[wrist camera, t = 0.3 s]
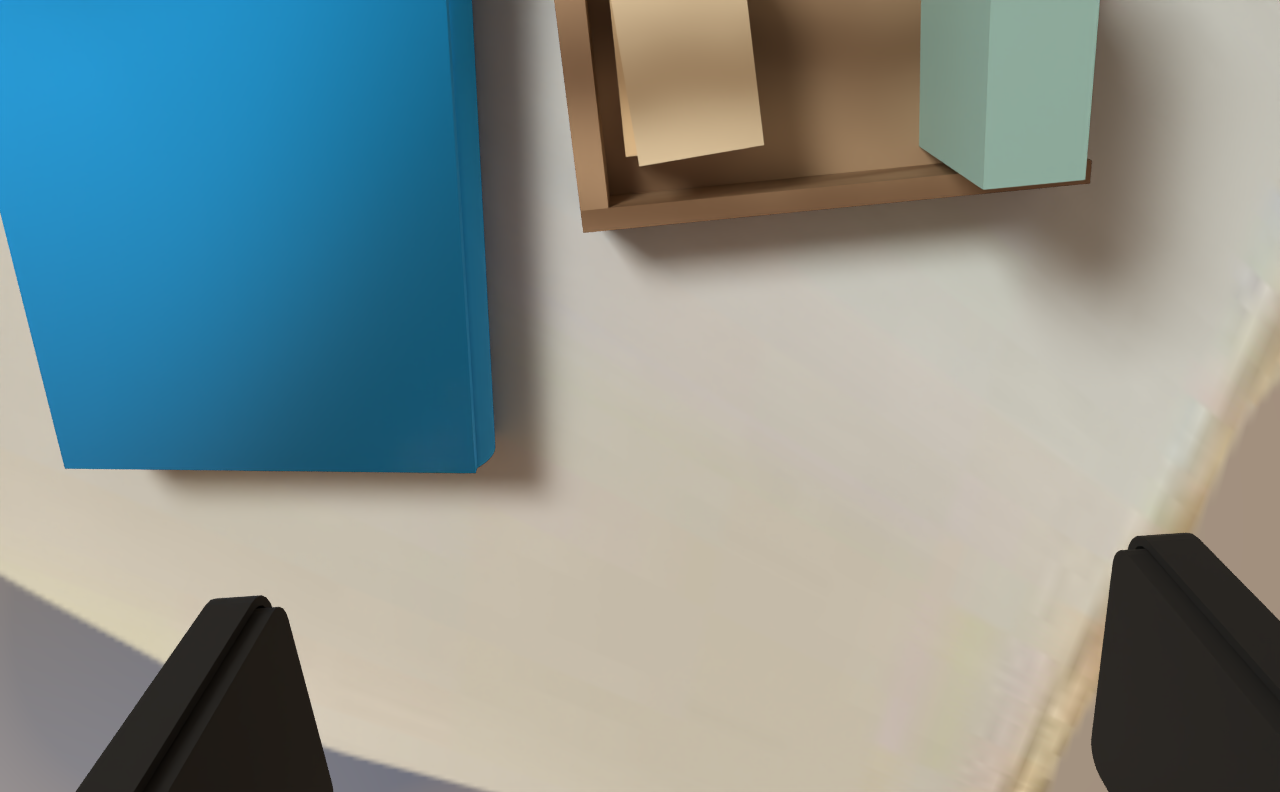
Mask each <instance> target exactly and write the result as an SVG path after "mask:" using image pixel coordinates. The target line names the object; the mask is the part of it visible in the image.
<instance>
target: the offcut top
mask: <svg viewBox="0 0 1280 792" xmlns="http://www.w3.org/2000/svg"><path fill="white" fill-rule="evenodd" d="M611 3H612V8H613V14H614V20H615V26H616V32H617V38H618V44H619V50H620V56H621V62H622V67H623V73H624V79H625V85H626V91H627V97H628V103H629V109H630V115H631V120H632V126H633V132H634V138H635V144H636V150H637V156H638V162H639V166H645V165H651V164H656V163H662V162H668V161H674V160H680V159H686V158H691V157H697V156H703V155H709V154H715V153H720V152H726V151H732V150H738V149H744V148H750V147H755V146H761V145H764V140H763V131H762V123H761V114H760V106H759V98H758V89H757V81H756V72H755V64H754V55H753V47H752V38H751V30H750V21H749V13H748V5H747V0H611Z"/></svg>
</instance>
